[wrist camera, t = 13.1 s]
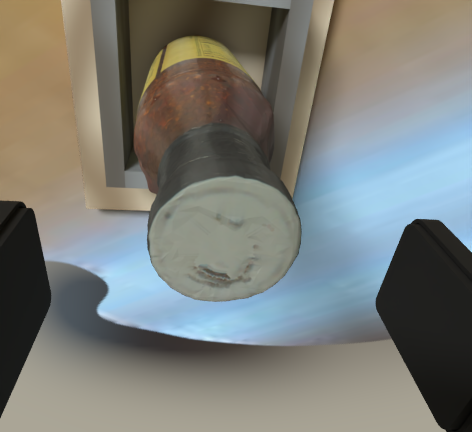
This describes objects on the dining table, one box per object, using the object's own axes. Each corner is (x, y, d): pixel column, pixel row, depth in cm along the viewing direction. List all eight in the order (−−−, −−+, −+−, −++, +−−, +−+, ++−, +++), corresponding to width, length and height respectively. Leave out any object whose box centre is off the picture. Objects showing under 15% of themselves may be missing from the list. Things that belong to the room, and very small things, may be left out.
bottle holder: (347, -105, 23) (397, -129, 18) (285, 206, 35) (302, 250, 29) (50, -153, 21) (0, -198, 15) (90, 199, 32) (70, 245, 27)
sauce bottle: (188, 140, 29) (187, 372, 12) (131, 69, 26) (22, 249, 9) (261, 88, 27) (375, 271, 10) (209, 6, 24) (253, 82, 7)
